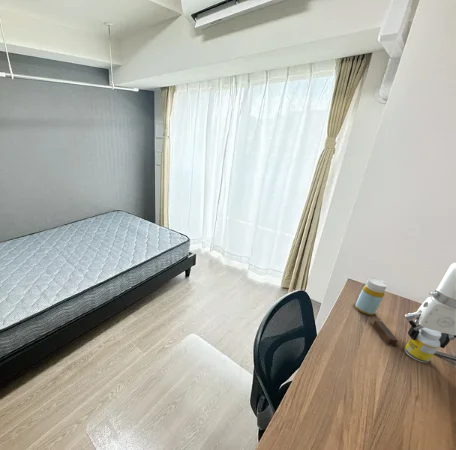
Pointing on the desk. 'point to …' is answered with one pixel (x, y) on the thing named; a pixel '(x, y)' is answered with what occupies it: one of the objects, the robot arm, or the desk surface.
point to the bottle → (371, 296)
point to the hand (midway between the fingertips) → (425, 340)
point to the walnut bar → (385, 332)
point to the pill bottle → (423, 345)
